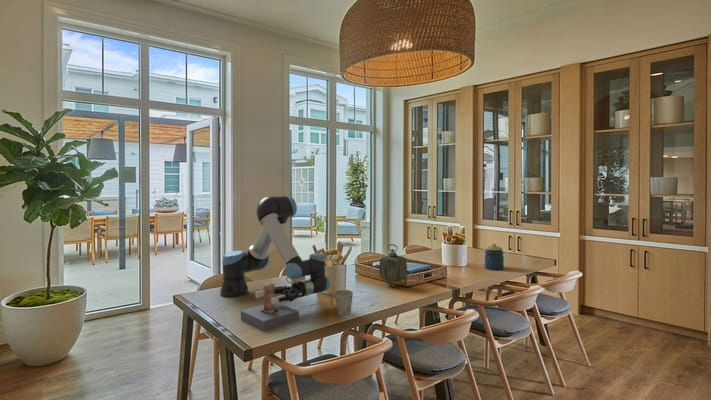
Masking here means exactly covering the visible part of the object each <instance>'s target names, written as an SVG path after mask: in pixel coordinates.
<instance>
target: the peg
mask: <svg viewBox="0 0 711 400" xmlns="http://www.w3.org/2000/svg"><path fill="white" fill-rule="evenodd" d="M274 287H275V284H274V283H265V284H263V290H264V296H263V305H264V313H266V314H269V313H273V312H275V304H271V298H273V297H276V296H275V295H276V294H275V292H274Z"/></svg>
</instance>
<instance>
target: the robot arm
mask: <svg viewBox="0 0 711 400" xmlns="http://www.w3.org/2000/svg"><path fill="white" fill-rule="evenodd" d="M297 209H298V207H297V202H296V200H295V199H294V197H293V196H290V195H278V196H276V195H275V196H266V197H264V198H262V199H261V200H259V202H258V204H257V206H256V217H257V220H258V222H259V224H260V225H261V226H263V227H262V228H261V230H260V233H259V234H258V236H257V238H256V239H255V242H254V244H252V245H250V247H249V248H248V250H247V251H246V252H245V251H244V250H233V251H230V252H227V253H224V255H222V261H221V262H222V276H223V277H222V279H223V281H222V284H221V287H220V291H219V292H220V296H221V297H226V298H233V297H234V298H235V297H241V296H245V295H247V294H248V293H249V287H248V284H247V282H246V279H245V277H246V276H245V274H246V273H252V272H256V271H261V270H263V269H265V268H266V267H267V266H268V264H269V263H270V254H269V249H270V248H271V245H272V243H273V244H274V246H275V247H276V249H277V251H278V253H279V254H280V256H281V258H282V260H283V261H284V264H285V268H284V272H285V275H286V276H287V277H288V278H287V279H290V280H291V279H297V278H300V277H303V276H305V277H307V276H309V279H305V280H303V281H299V282H295V283H293V285H292V286H291V285H290V286H288V285H283V286H281V285H280V286H274V292H275V295H277V296H275V297H273V298H271V304H276V303H279V304H281V303H283V302H293V301H295V300H296V299H298V298H302V297H308V296H310V295H311V296H312V295H313V294H318V293H323V292H325V291H328V290H329V289H330V287H331V281H330V278H329V277H328V276H327V275H326V267H325V266H326V264H325V263H326V261H325V260H326V259H325V255H324V254H323V253H318V252H317V253H310V254H309V259H305V260H303V259H302V258H301V257H300V255H299V253H298V251H297V250H296V248H295V246H294V245H293V243H292V241H291V239H290V237H289V236H288V234H287V232H286V231H285V229H284V228H283V227H284V226H282V225H285V224H286V223H287V222H288V220H289V218H293V217H294V216H295V215H296V214H297V213H298V212H297ZM286 276H285V277H286ZM262 297H263V298H264V289H263V290H259V291H255V298H256V299H258V298H262Z"/></svg>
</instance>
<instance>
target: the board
mask: <svg viewBox="0 0 711 400" xmlns="http://www.w3.org/2000/svg"><path fill="white" fill-rule="evenodd" d="M299 314H300V313H299V310H296V309H294V308H292V307H288V306H287V305H283V304H281V303H276V304H275V312H273V313H269V314H266V313H264V304H262V305H256V306H253V307H250V308H245V309H242V310H240V320H242V321H244V322H246V323H248V324H249V325H252V326H253V327H256V328H258V329H260V330H261V331H267V330H270V329H274V328H278V327H279V326H283V325H287V324H290V323H294V322H297V321H299V320H300V317H299V316H300V315H299Z"/></svg>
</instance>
